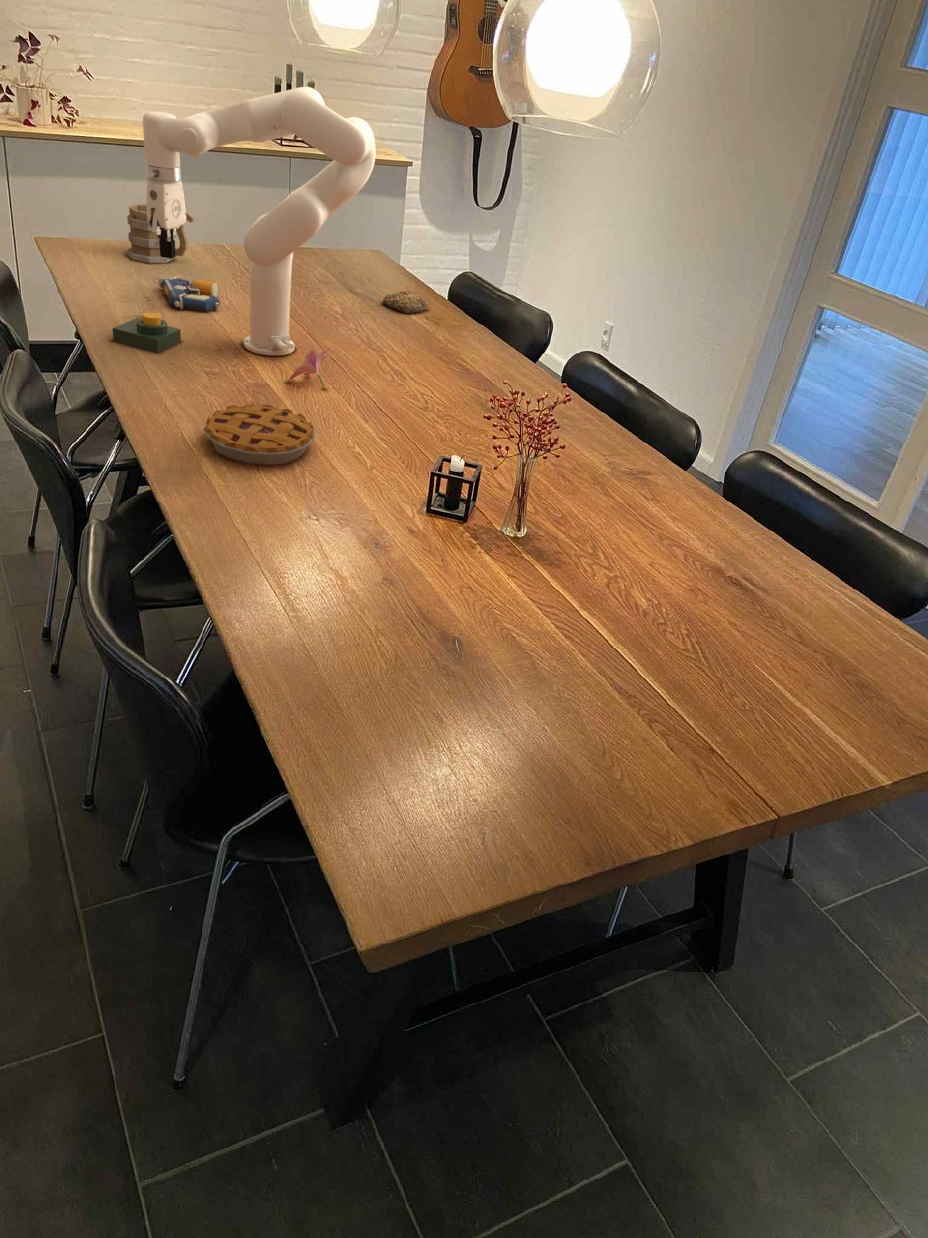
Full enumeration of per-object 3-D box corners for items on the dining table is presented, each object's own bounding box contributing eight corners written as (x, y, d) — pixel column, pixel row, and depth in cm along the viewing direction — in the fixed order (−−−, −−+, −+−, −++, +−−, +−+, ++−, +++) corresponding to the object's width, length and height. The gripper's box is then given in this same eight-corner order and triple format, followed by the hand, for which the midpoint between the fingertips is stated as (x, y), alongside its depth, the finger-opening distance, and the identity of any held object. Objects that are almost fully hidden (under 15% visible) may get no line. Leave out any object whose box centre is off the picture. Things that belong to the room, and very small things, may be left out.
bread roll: (402, 315, 270) (404, 298, 267) (377, 302, 277) (378, 285, 274) (435, 311, 278) (437, 295, 275) (410, 298, 285) (412, 282, 282)
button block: (180, 341, 227) (180, 321, 224) (157, 353, 219) (156, 332, 216) (137, 330, 229) (136, 310, 227) (113, 341, 221) (111, 320, 218)
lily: (334, 380, 224) (318, 342, 220) (352, 379, 214) (336, 339, 210) (290, 399, 220) (274, 360, 216) (306, 399, 210) (289, 358, 206)
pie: (223, 414, 196) (223, 392, 194) (325, 432, 196) (326, 410, 194) (188, 456, 178) (188, 432, 176) (300, 476, 178) (301, 452, 176)
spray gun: (212, 288, 265) (158, 288, 258) (212, 273, 262) (157, 272, 256) (229, 314, 250) (172, 314, 244) (229, 298, 248) (171, 298, 241)
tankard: (121, 257, 276) (117, 204, 268) (140, 248, 286) (137, 197, 278) (185, 270, 275) (183, 217, 266) (202, 261, 285) (201, 209, 277)
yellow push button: (164, 323, 223) (163, 315, 222) (154, 328, 219) (154, 319, 218) (149, 320, 223) (149, 311, 222) (139, 324, 220) (139, 315, 219)
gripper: (160, 180, 204) (165, 266, 214) (194, 172, 216) (197, 253, 227) (130, 174, 205) (136, 260, 216) (165, 166, 217) (170, 247, 228)
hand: (168, 256), depth 221 cm, fingers closed
